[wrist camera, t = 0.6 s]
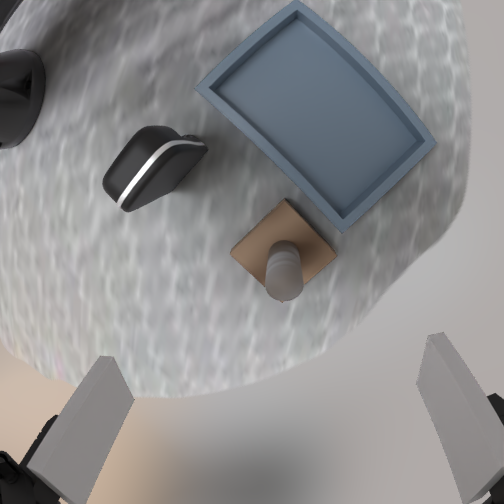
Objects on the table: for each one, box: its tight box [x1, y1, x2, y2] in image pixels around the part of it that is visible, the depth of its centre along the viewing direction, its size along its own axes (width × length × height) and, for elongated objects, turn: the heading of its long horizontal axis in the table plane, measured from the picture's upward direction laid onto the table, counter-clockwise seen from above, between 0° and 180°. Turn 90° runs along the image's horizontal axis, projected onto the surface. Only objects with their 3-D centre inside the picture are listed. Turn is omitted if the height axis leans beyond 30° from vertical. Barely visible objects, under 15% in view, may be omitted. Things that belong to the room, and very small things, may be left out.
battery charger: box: [103, 126, 208, 212], centre depth 25 cm, size 7×4×11 cm, turn 135°
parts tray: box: [194, 0, 437, 233], centre depth 26 cm, size 20×14×3 cm
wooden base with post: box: [230, 198, 337, 303], centre depth 29 cm, size 8×8×9 cm
